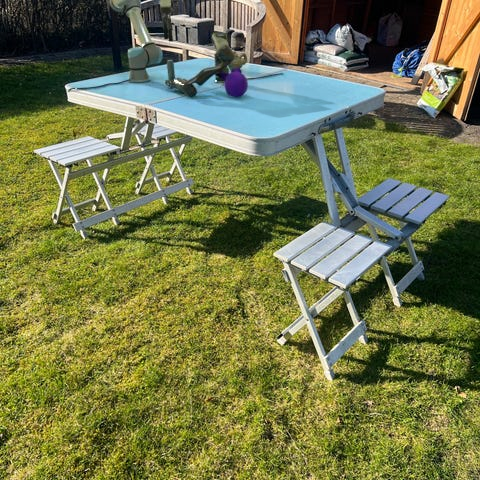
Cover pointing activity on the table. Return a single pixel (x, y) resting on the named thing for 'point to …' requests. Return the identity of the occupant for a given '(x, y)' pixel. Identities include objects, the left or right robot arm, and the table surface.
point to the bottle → (171, 71)
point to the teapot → (238, 61)
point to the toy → (234, 82)
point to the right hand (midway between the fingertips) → (172, 80)
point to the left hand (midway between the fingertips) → (168, 40)
